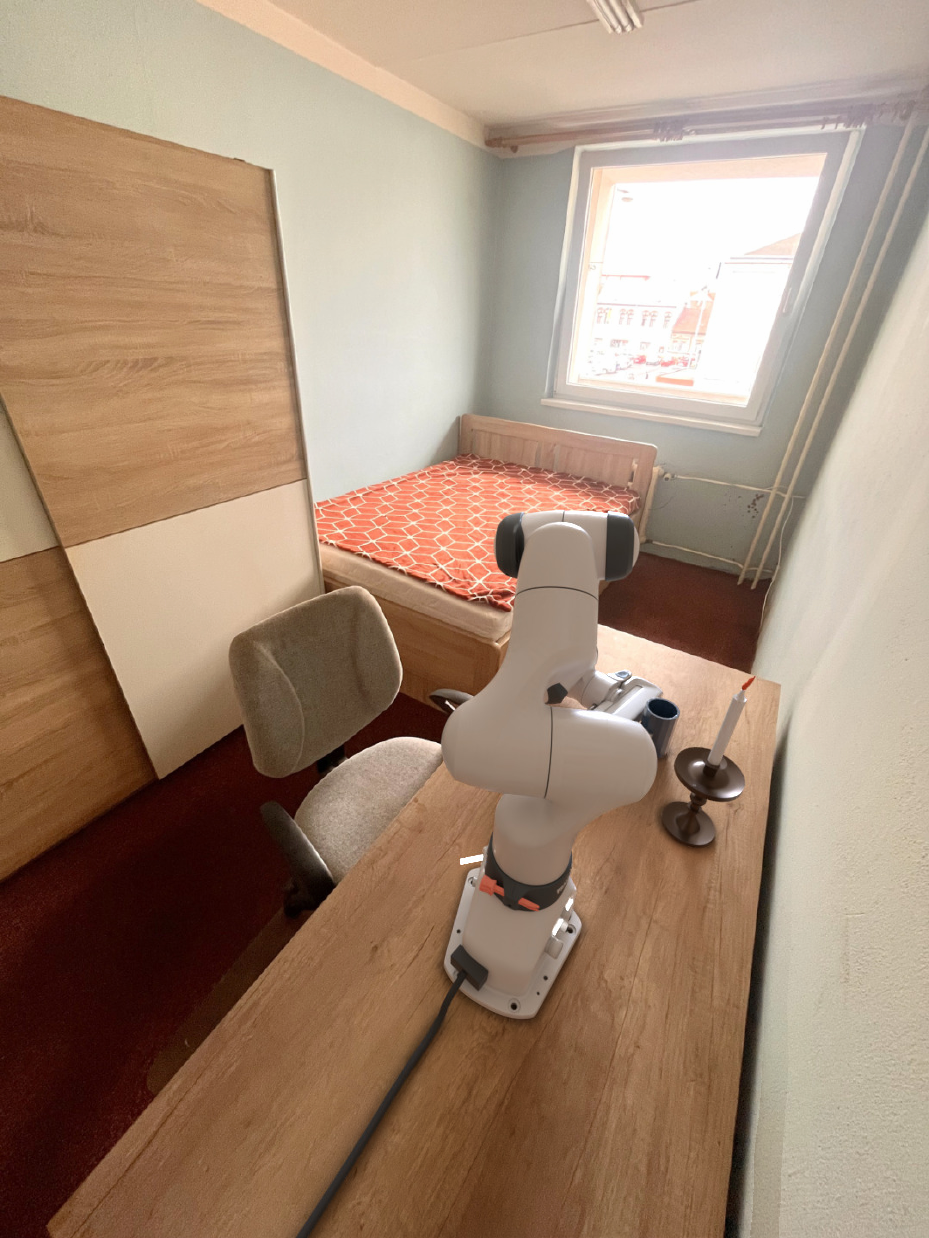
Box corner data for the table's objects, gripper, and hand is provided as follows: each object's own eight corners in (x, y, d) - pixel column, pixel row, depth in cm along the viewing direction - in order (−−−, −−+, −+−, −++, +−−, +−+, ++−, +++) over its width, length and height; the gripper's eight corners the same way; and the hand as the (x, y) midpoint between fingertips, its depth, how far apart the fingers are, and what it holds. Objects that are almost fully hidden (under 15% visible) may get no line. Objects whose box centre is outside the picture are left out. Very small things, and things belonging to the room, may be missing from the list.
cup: (664, 762, 105) (678, 723, 99) (632, 751, 107) (643, 713, 101) (668, 742, 110) (681, 703, 104) (637, 731, 112) (648, 693, 106)
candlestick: (727, 824, 93) (800, 673, 74) (706, 864, 86) (780, 709, 67) (670, 790, 99) (724, 643, 80) (645, 826, 92) (698, 674, 73)
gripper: (578, 706, 105) (638, 742, 97) (630, 666, 117) (687, 695, 109) (574, 728, 108) (632, 765, 100) (624, 687, 121) (679, 717, 112)
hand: (661, 728), depth 105 cm, fingers closed on cup, 6 cm apart
